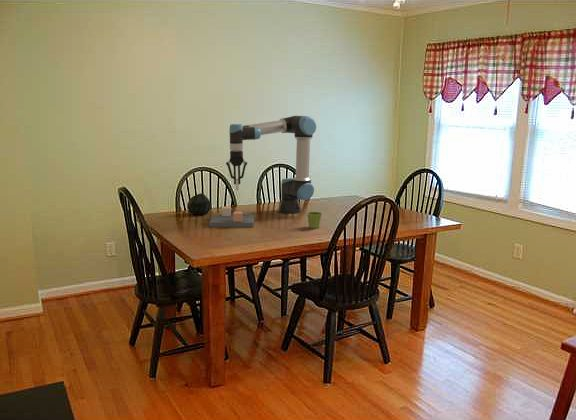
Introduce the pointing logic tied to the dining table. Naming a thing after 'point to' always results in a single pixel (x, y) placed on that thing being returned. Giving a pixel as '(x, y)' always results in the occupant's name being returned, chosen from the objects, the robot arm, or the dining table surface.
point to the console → (232, 221)
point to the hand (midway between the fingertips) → (237, 189)
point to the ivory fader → (226, 211)
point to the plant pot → (314, 219)
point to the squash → (199, 204)
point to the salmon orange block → (237, 216)
